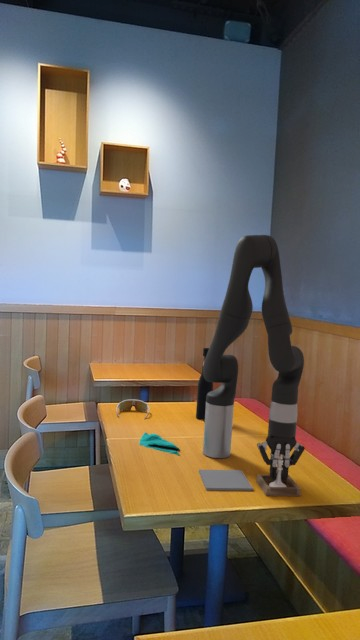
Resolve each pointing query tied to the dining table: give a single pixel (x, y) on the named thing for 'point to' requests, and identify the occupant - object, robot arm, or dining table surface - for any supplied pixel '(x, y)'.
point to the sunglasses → (137, 404)
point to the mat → (225, 480)
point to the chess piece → (278, 474)
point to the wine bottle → (203, 392)
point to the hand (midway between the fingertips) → (278, 478)
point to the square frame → (278, 491)
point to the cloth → (157, 443)
